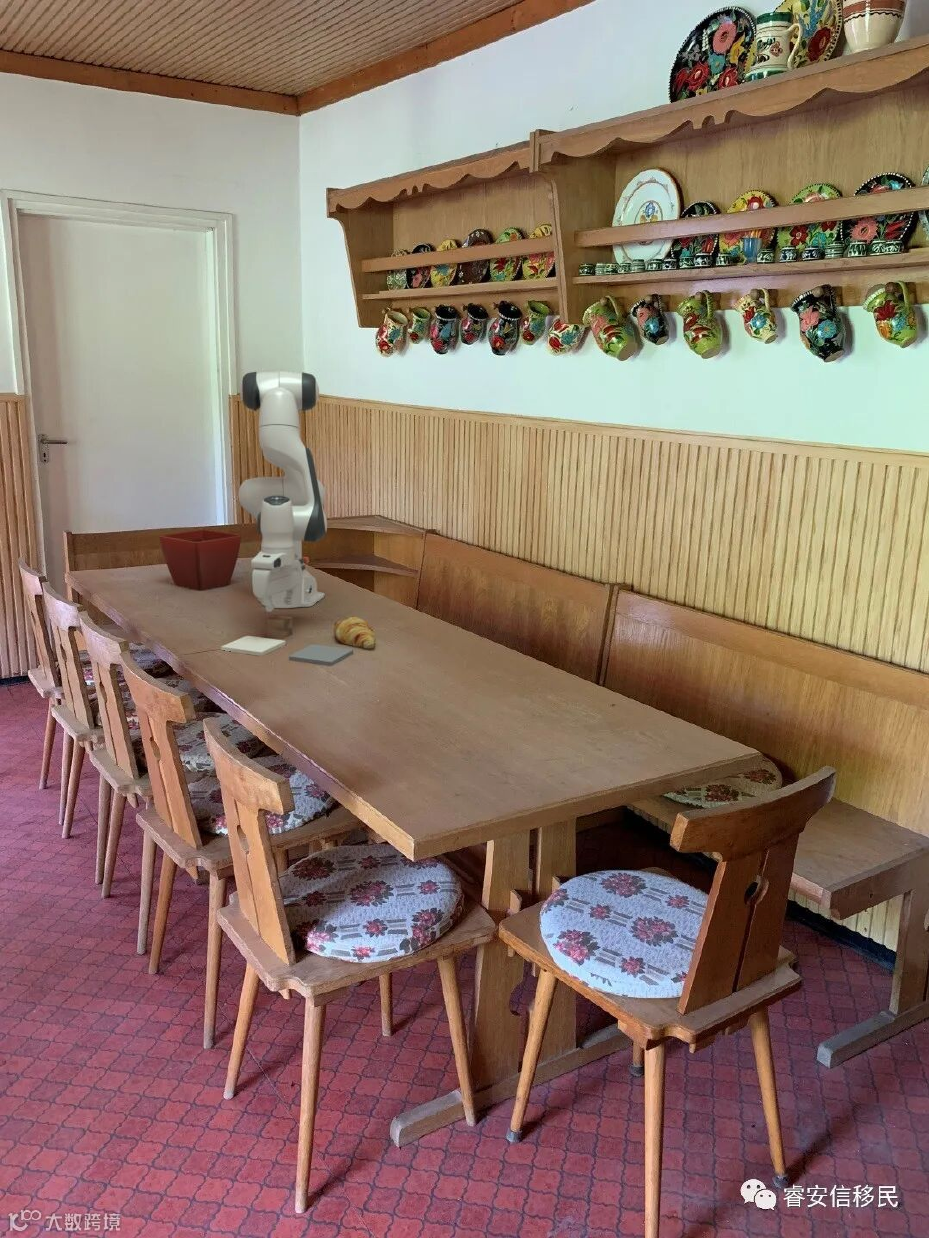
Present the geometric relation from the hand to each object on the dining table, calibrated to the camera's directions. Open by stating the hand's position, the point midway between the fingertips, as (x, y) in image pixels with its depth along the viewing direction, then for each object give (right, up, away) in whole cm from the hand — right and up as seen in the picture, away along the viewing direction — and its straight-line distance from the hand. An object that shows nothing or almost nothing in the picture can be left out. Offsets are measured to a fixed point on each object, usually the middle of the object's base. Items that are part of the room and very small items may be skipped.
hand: (279, 607), depth 273 cm
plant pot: (-36, +8, +60) cm, 71 cm away
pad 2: (+14, -13, -16) cm, 25 cm away
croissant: (+20, -10, -1) cm, 22 cm away
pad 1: (-5, -11, -9) cm, 15 cm away
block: (0, -8, +3) cm, 8 cm away
